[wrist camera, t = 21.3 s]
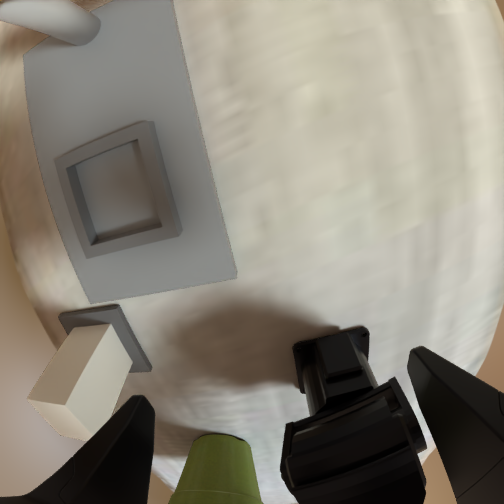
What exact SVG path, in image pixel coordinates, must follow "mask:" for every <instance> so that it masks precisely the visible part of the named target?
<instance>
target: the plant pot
mask: <svg viewBox="0 0 504 504" xmlns="http://www.w3.org/2000/svg"><path fill="white" fill-rule="evenodd" d="M168 504H263V502H262V501H261V497H260V492H259V487H258V482H257V477H256V472H255V468H254V462H253V457H252V452H251V447H250V445H249V444H248V443H247V442H245V441H240V440H238V439H236V438H235V437H233V436H228V435H217V434H216V435H205V436H201V437H200V438H199V439H197V440H195V441H194V442H193V445H192V447H191V450H190V452H189V455H188V458H187V461H186V463H185V466H184V469H183V471H182V474H181V477H180V479H179V482H178V485H177V487H176V490H175V492H174V494H173V495H172V496H171V498H170V500H169V503H168Z"/></svg>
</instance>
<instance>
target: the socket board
mask: <svg viewBox="0 0 504 504" xmlns="http://www.w3.org/2000/svg"><path fill="white" fill-rule="evenodd" d="M0 21H4V22H7V23H11V24H15V25H18V26H22V27H25V28H28V29H31V30H35V31H38V32H41V33H44V34H47V35H50V36H49V37H47V38H46V39H45V40H43V41H42V42H40V43H39V44H37V45H36V46H35V47H33V48H32V49H30V50H29V51H28V52H26V53H25V54H24V55H23V62H24V77H25V88H26V97H27V105H28V112H29V118H30V124H31V130H32V135H33V140H34V145H35V150H36V154H37V159H38V163H39V167H40V171H41V175H42V179H43V182H44V186H45V189H46V193H47V196H48V200H49V203H50V206H51V209H52V212H53V215H54V218H55V221H56V224H57V227H58V230H59V232H60V235H61V238H62V240H63V243H64V246H65V248H66V251H67V253H68V256H69V258H70V261H71V263H72V265H73V268H74V270H75V272H76V275H77V277H78V279H79V281H80V283H81V286H82V288H83V290H84V292H85V294H86V296H87V298H88V300H89V302H90V304H94V303H101V302H107V301H113V300H119V299H125V298H131V297H137V296H143V295H149V294H154V293H160V292H166V291H171V290H177V289H183V288H188V287H194V286H199V285H204V284H210V283H215V282H220V281H226V280H231V279H236V278H237V269H236V265H235V261H234V257H233V253H232V250H231V246H230V242H229V238H228V234H227V230H226V226H225V223H224V219H223V215H222V211H221V207H220V203H219V199H218V195H217V191H216V187H215V183H214V179H213V175H212V171H211V167H210V163H209V159H208V155H207V151H206V146H205V142H204V138H203V134H202V130H201V126H200V121H199V117H198V113H197V109H196V104H195V100H194V96H193V91H192V87H191V83H190V78H189V74H188V69H187V65H186V60H185V56H184V51H183V47H182V42H181V38H180V33H179V28H178V24H177V19H176V14H175V10H174V5H173V0H113V1H111V2H109V3H107V4H105V5H103V6H101V7H99V8H97V9H95V10H93V11H91V12H89V11H87V10H85V9H84V8H82V7H80V6H79V5H77V4H75V3H74V2H72V1H70V0H1V1H0Z"/></svg>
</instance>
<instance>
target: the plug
mask: <svg viewBox="0 0 504 504" xmlns="http://www.w3.org/2000/svg"><path fill="white" fill-rule="evenodd" d="M132 363H133V362H132V360H131V358H130V357H129V355H128V353H127V352H126V350H125V348H124V346H123V345H122V343H121V341H120V339H119V338H118V336H117V334H116V332H115V330H114V328H113V326H112V325H111V324H103V325H94V326H85V327H75V328H73V330H72V331H71V332H70V334H69V335H68V337H67V338H66V339H65V341H64V342H63V344H62V345H61V346H60V348H59V349H58V351H57V352H56V354H55V355H54V357H53V358H52V360H51V361H50V363H49V364H48V366H47V367H46V369H45V370H44V372H43V373H42V375H41V376H40V378H39V379H38V381H37V383H36V384H35V386H34V387H33V389H32V391H31V392H30V394H29V396H28V397H27V400H28V401H29V402H30V403H31V405H32V406H33V407H34V408H35V409H36V410H37V411H38V413H39V414H40V415H41V416H42V417H43V418H44V419H45V420H46V421H47V422H48V423H49V424H50V425H51V426H52V427H53V428H54V429H55V430H56V431H57V432H58V433H59V434H60V435H61V436H65V437H70V438H74V439H79V440H85V441H88V440H89V439H90V438H91V437H92V436H93V435H94V434H95V433H96V432H97V431H98V430H99V429H100V428H101V427H102V426H103V425H104V424H105V423H106V422H107V421H108V420H109V419H110V418H111V415H112V413H113V410H114V407H115V405H116V402H117V400H118V397H119V395H120V392H121V390H122V387H123V385H124V382H125V380H126V377H127V375H128V372H129V370H130V368H131V365H132Z"/></svg>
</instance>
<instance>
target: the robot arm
mask: <svg viewBox="0 0 504 504" xmlns="http://www.w3.org/2000/svg"><path fill="white" fill-rule="evenodd" d="M363 333H364V334H363ZM369 335H370V333H369V331H368V329H367V328H365V327H364V328H359V329H355V330H352V331H348V332H343V333H339V334H335V335H331V336H327V337H322V338H318V339H313V340H308V341H304V342H299V343H296V344H294V345H293V353H294V359H295V364H296V370H297V376H298V382H299V387H300V392H301V393H302V394H306V398H307V403H308V408H309V414H310V417H307V418H304V419H302V420H299V421H296V422H290V423H287V424H286V427H285V433H284V441H283V449H282V457H281V464H280V472H281V477H282V480H283V481H284V482H285V484H286V486H287V488H288V490H289V491H290V493H291V494H292V495H294V497H295V498H296V500H297V502H298V504H423V503H424V499H425V495H426V490H425V486H426V478H425V475H424V472H423V469H422V466H421V463H420V460H419V457H418V455H417V454H418V453H420V452H422V451H424V450H426V449H427V445H426V441H425V438H424V435H423V433H422V430H421V427H420V425H419V422H418V420H417V418H416V416H415V413H414V411H413V409H412V407H411V405H410V404H409V402H408V400H407V398H406V396H405V394H404V392H403V390H402V389H401V387H400V385H399V383H398V381H397V379H396V378H395V377H393V378H391V379H389V380H388V382H386V383H384V384H382V385H380V386H378V384H377V381H376V379H375V377H374V375H373V372H372V370H371V368H370V365H369V363H368V354H369ZM298 348H301V349H298ZM407 370H408V374H409V376H410V379H411V382H412V385H413V388H414V391H415V395H416V398H417V401H418V404H419V407H420V409H421V412H422V414H423V416H424V419H425V421H426V423H427V426H428V428H429V430H430V432H431V435H432V437H433V440H434V442H435V444H436V447H437V449H438V452H439V454H440V457H441V459H442V462H443V464H444V467H445V470H446V472H447V475H448V478H449V481H450V483H451V486H452V489H453V492H454V495H455V498H456V501H457V504H504V393H502V392H501V391H498V390H497V389H495V388H494V387H492V386H490V385H489V384H487V383H485V382H484V381H482V380H480V379H478V378H476V377H475V376H473V375H472V374H470V373H468V372H467V371H465V370H463V369H461V368H460V367H458V366H456V365H455V364H453V363H451V362H449V361H448V360H446V359H444V358H443V357H441V356H439V355H437V354H436V353H434V352H432V351H431V350H429V349H427V348H425V347H424V346H419V347H416V348H413V349H411V351H410V354H409V360H408V365H407ZM154 428H155V411H154V408H153V407H152V405H151V404H150V403H149V401H148V400H147V398H146V397H145V396H143V395H133V396H132V397H130V398H129V399H128V401H127V402H126V403H125V404H124V405H123V406H122V407H121V408H120V409H119V410H118V411H117V412H116V413H115V414H114V415H113V416H112V417H111V418H110V419H109V420H108V421H107V422H106V423H105V424H104V425H103V426H102V427H101V428H100V429H99V430H98V431H97V432H96V433H95V434H94V435H93V436H92V437H91V438H90V439H89V440H88V441H87V443H85V444H84V445H83V447H81V448H80V449H79V450H78V451H77V452H76V454H74V456H73V457H71V458H70V459H69V460H68V461H67V462H66V463H65V464H64V465H63V466H62V467H61V468H60V469H59V470H58V471H57V472H55V473H54V474H53V475H52V476H51V477H49V478H48V479H47V480H46V481H44V482H43V483H42V484H41V485H39V486H38V487H37V488H35V489H34V490H33V491H31V492H30V493H28V494H25V495H22V496H12V497H0V504H147V500H148V490H149V483H150V474H151V467H152V459H153V452H154Z"/></svg>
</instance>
